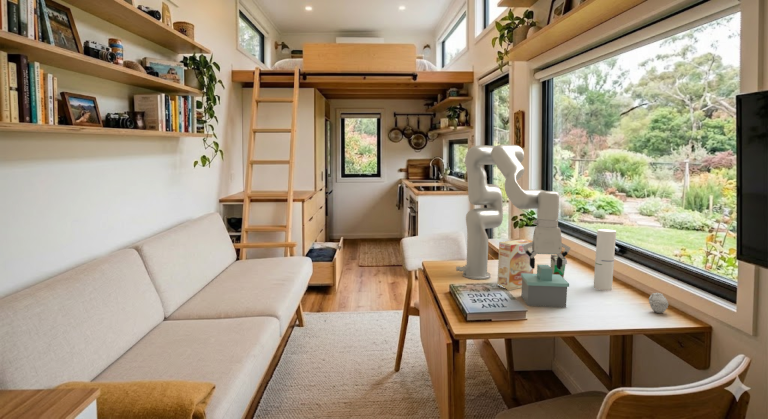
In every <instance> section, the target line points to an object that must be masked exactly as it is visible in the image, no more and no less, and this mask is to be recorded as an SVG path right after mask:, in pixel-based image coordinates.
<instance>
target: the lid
mask: <svg viewBox="0 0 768 419" xmlns="http://www.w3.org/2000/svg"><path fill="white" fill-rule="evenodd" d="M552 270H553V269H552V268H551V265H549V264H537V265H536V273H533V274H529V273H521V277H522V278H523V280H524V281H525V283H526V284H527V285H532V286H558V287H567V288H570V282H568V281H567V280H566V279H565V277H564V278H563V277H562V276H561V275H557V274H552Z"/></svg>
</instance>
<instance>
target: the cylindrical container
mask: <svg viewBox="0 0 768 419" xmlns="http://www.w3.org/2000/svg"><path fill="white" fill-rule="evenodd" d="M596 230H597V232H596V233H597V234H596V243H595V244H596V247H595V259H594V260H595V262H594V275H593V288H594V289H596V290H598V291H604V292H605V291H607V292H608V291H612V290H613V278H614V277H613V276H614V265H615V250H616V239H617V230H614V229H609V228H608V229H607V228H600V229H596Z"/></svg>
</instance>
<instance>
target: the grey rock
mask: <svg viewBox="0 0 768 419" xmlns="http://www.w3.org/2000/svg"><path fill="white" fill-rule="evenodd" d="M648 304H649V306H650V308H651V310H652V311H653V312H655V313H658V314H661V313H662V314H663V313H665V312H666V310H667V309H668V308H669V307H668V306H669V302H668V300H667V298H666V297H665V296H664V294H663V293H661V292H655V293H653V292H652V293H651V294H650V296H649V298H648Z"/></svg>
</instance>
